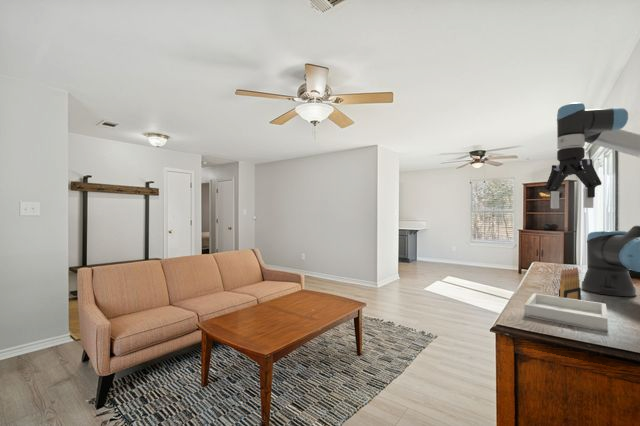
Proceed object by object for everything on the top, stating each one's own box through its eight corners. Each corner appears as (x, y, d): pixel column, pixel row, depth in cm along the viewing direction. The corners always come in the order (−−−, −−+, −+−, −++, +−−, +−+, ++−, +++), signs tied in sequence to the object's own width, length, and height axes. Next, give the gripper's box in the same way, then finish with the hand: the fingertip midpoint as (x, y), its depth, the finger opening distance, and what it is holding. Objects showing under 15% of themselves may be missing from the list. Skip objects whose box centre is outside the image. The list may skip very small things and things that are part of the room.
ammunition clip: (564, 306, 101) (564, 270, 101) (558, 304, 103) (558, 269, 103) (581, 302, 106) (581, 267, 106) (574, 300, 107) (574, 266, 107)
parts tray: (533, 303, 104) (533, 293, 104) (605, 315, 91) (605, 303, 91) (524, 316, 90) (524, 304, 90) (607, 332, 78) (607, 318, 78)
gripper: (534, 155, 120) (534, 208, 120) (593, 139, 95) (593, 207, 95) (552, 155, 120) (552, 208, 120) (616, 140, 96) (616, 207, 95)
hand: (570, 208), depth 108 cm, fingers open, 13 cm apart
